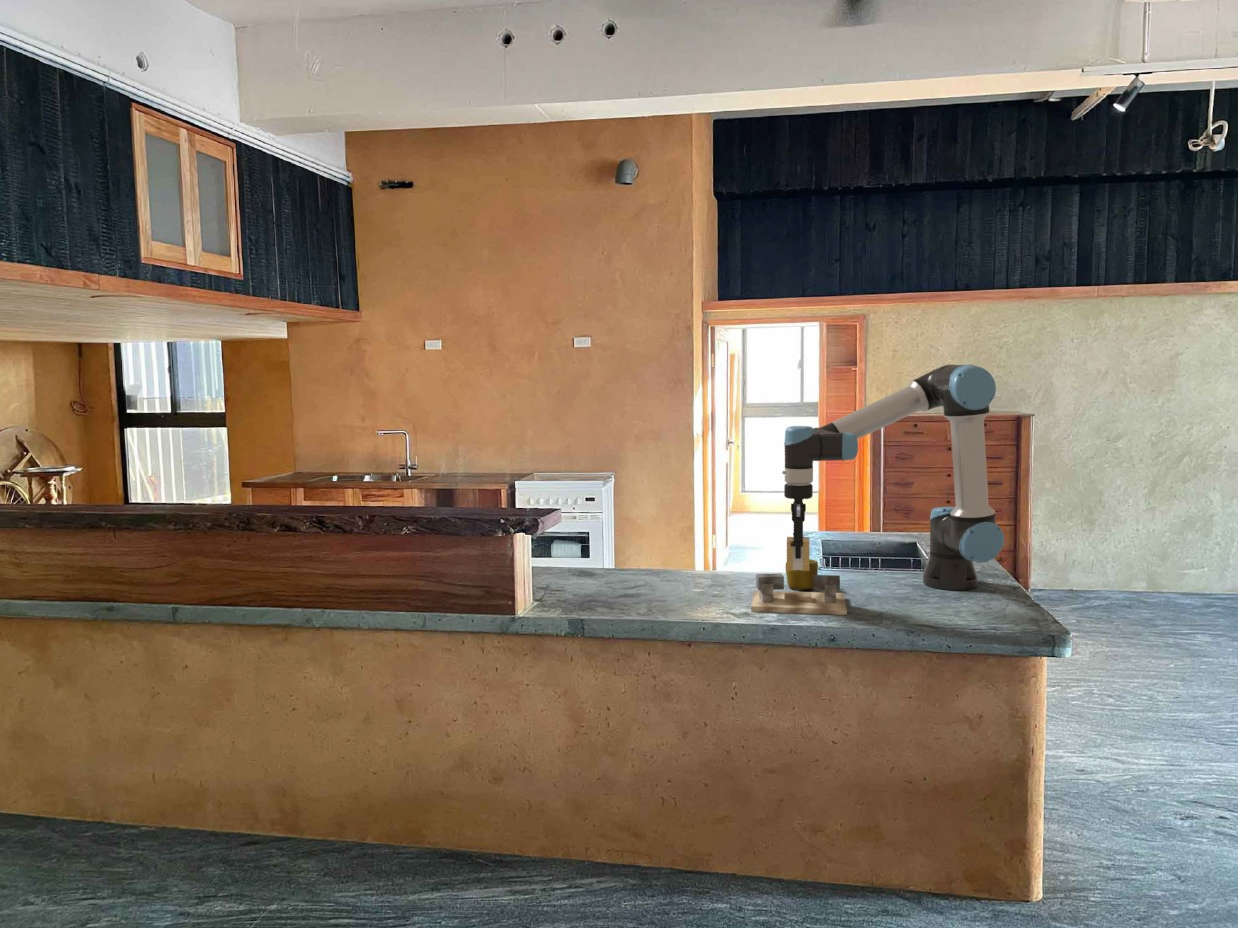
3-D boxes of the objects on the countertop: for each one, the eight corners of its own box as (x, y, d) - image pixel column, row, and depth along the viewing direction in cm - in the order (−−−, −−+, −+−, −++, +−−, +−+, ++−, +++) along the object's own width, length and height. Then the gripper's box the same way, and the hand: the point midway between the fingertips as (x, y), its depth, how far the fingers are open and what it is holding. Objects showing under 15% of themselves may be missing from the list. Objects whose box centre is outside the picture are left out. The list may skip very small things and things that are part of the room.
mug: (824, 587, 257) (813, 553, 259) (790, 596, 259) (779, 563, 261) (826, 584, 269) (815, 552, 270) (793, 593, 271) (783, 562, 273)
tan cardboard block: (786, 570, 243) (786, 541, 242) (786, 565, 249) (786, 536, 248) (809, 571, 242) (809, 541, 241) (808, 565, 248) (809, 537, 247)
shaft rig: (843, 598, 252) (843, 568, 251) (846, 614, 236) (846, 583, 235) (753, 595, 257) (753, 566, 256) (751, 611, 241) (751, 580, 240)
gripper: (784, 478, 252) (784, 558, 255) (783, 488, 234) (783, 574, 237) (812, 478, 251) (811, 559, 254) (813, 488, 232) (812, 575, 235)
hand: (797, 566), depth 245 cm, fingers closed on tan cardboard block, 6 cm apart
